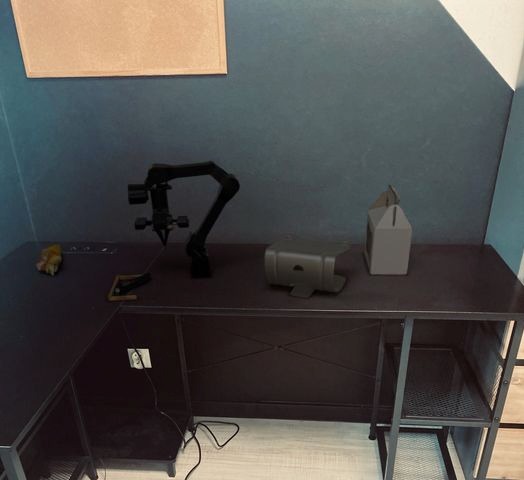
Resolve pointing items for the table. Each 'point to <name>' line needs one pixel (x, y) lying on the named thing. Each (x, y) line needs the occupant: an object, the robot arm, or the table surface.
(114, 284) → the dock
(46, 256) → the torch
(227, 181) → the robot arm
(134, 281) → the electric trimmer
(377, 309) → the table surface
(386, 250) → the gable box
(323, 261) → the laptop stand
